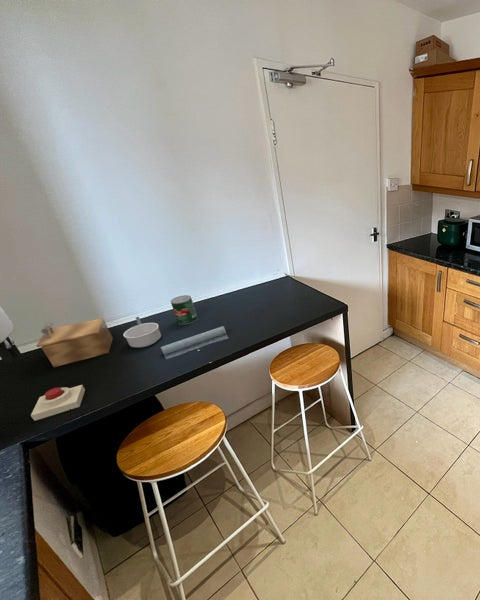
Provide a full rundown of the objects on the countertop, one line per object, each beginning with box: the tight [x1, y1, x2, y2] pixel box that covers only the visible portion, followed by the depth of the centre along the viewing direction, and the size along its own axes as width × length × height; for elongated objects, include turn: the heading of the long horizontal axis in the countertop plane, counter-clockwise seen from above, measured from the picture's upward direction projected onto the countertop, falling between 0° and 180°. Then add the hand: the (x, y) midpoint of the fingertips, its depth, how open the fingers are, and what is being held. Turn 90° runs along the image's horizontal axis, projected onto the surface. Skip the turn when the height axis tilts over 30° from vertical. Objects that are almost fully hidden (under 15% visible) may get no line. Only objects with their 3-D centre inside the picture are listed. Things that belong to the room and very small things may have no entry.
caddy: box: [41, 320, 114, 368], centre depth 121 cm, size 16×13×9 cm
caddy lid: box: [36, 317, 105, 348], centre depth 117 cm, size 16×13×5 cm
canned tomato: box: [169, 294, 199, 326], centre depth 142 cm, size 8×8×11 cm
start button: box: [44, 387, 64, 400], centre depth 96 cm, size 4×4×2 cm
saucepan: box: [123, 316, 162, 348], centre depth 130 cm, size 12×20×6 cm, turn 42°
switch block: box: [30, 384, 86, 421], centre depth 97 cm, size 10×9×4 cm
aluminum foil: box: [160, 325, 230, 360], centre depth 126 cm, size 23×7×3 cm, turn 133°
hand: (13, 359), depth 88 cm, fingers closed
